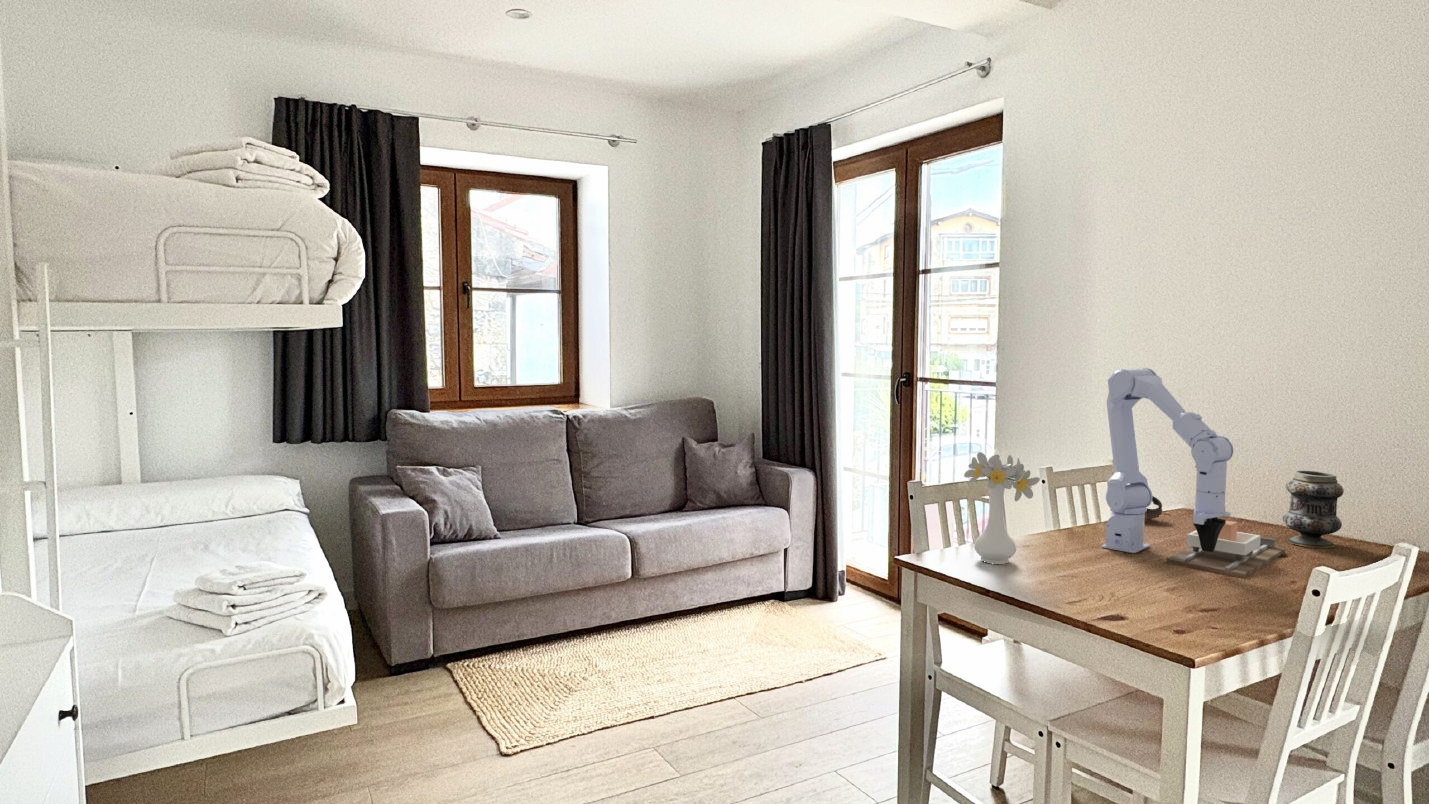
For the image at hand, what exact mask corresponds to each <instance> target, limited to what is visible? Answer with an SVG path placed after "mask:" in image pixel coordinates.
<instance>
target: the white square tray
mask: <svg viewBox="0 0 1429 804" xmlns="http://www.w3.org/2000/svg"><path fill="white" fill-rule="evenodd" d="M1261 537H1262V536H1261V535H1260V534H1254V533H1246V532H1242V531H1237V538H1236V542H1235V541H1229V540H1223V539H1217V543H1216V546H1215V549H1214V550H1217V551H1223V552H1228V553H1234V554H1237V555H1236V558H1237V559H1238V560H1242V557H1243V555H1246V554H1248V553H1250V554H1252V553H1253V550H1255V549H1257V548H1258V547H1260V539H1261ZM1186 546H1190V547H1191V546H1193V551H1194V552H1198V551H1199V547H1200V548H1201V545H1200V540H1199V535H1198V532H1197V530H1196V529H1195V530H1193V531H1192V532H1189V533H1187V534H1186Z"/></svg>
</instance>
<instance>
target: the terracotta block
mask: <svg viewBox="0 0 1429 804" xmlns="http://www.w3.org/2000/svg"><path fill="white" fill-rule="evenodd" d="M1237 532H1238V521H1230V520H1226V523H1225V525H1224V526H1223V528H1222V529H1221V531H1220V534H1219V536H1218V539H1223V540H1229V541H1235V542H1236V538H1237Z"/></svg>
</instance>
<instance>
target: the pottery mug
mask: <svg viewBox="0 0 1429 804" xmlns="http://www.w3.org/2000/svg"><path fill="white" fill-rule="evenodd" d="M1152 496H1153V499H1152V502H1151V503H1152V504H1153V505H1156V506H1157V507H1156V508H1148V507H1147V511H1146V512H1145V518H1144V523H1145V522H1146V521H1150V520H1154V519H1157V518H1160V516H1162V513H1163V504H1162V502H1161V500H1160V499H1158V498H1157V497H1155V496H1154V495H1152Z"/></svg>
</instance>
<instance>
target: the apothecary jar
mask: <svg viewBox="0 0 1429 804" xmlns="http://www.w3.org/2000/svg"><path fill="white" fill-rule="evenodd" d="M1285 489H1286V491H1287V492H1288V493H1290V501H1289V510H1288V511H1286V512H1285V513H1284V514H1283V515H1282V521H1283V523H1284V524H1285V526H1287V527H1288V528H1289V529H1292V530H1293V531H1295V532H1298V533H1299V534H1300V535H1295V536H1292V537H1289V538H1287V539H1286V542H1287V541H1288V543H1289V544H1291V545H1294V544H1295V545H1294V546H1297V545H1299V547H1302V546H1306V547H1305V548H1309V547H1311V548H1310V549H1321V548H1326V549H1332V548H1331V547H1333V546H1335V547H1336V545H1335V543H1334V542H1332V541H1331V540H1328V539H1326V538H1323V537H1322V536H1324V535H1326V536H1327V535H1331V534H1334V533H1337V532H1338V531H1340V529H1341V528H1342V526H1343V524H1342V520H1341V519H1340V518H1339V517H1338V516H1337V507H1338V499H1339V498H1340V497H1342V496H1343V495H1344V493H1345V490H1344V487H1343V486H1342V485H1341V484H1340V483H1338V480H1337V475H1336V474H1335V473H1331V472H1327V471H1326V472H1325V471H1320V470H1309V469H1307V470H1306V469H1304V470H1303V469H1302V470H1301V469H1299V470H1294V476H1293V478H1291V479H1290V480H1288V481H1287V482H1286V484H1285Z"/></svg>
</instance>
